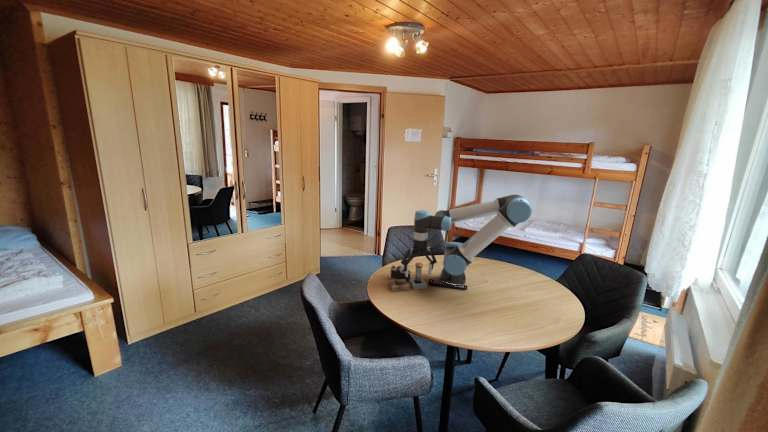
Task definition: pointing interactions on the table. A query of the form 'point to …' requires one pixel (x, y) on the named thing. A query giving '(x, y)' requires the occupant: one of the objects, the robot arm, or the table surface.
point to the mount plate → (417, 286)
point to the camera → (399, 273)
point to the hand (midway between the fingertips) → (418, 275)
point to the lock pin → (418, 273)
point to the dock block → (399, 285)
